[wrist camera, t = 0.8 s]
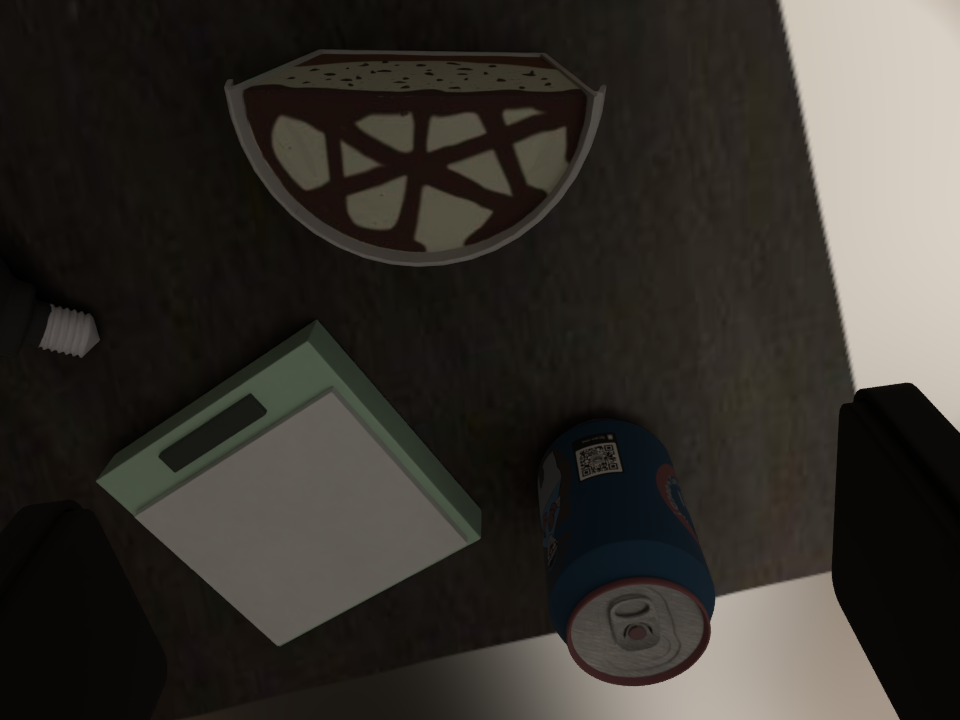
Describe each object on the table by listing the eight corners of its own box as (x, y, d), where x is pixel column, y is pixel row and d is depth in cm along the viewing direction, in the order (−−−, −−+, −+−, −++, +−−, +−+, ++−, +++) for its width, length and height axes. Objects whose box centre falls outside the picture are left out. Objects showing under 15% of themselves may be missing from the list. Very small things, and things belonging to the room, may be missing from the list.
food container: (296, 194, 36) (234, 278, 27) (282, 48, 33) (208, 89, 25) (571, 199, 36) (598, 284, 27) (581, 53, 33) (615, 96, 25)
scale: (114, 454, 43) (89, 488, 40) (317, 318, 39) (304, 346, 36) (288, 615, 48) (276, 655, 46) (481, 509, 44) (481, 546, 42)
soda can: (676, 500, 44) (736, 680, 33) (552, 526, 45) (571, 710, 34) (655, 393, 41) (713, 554, 30) (521, 423, 42) (533, 590, 31)
